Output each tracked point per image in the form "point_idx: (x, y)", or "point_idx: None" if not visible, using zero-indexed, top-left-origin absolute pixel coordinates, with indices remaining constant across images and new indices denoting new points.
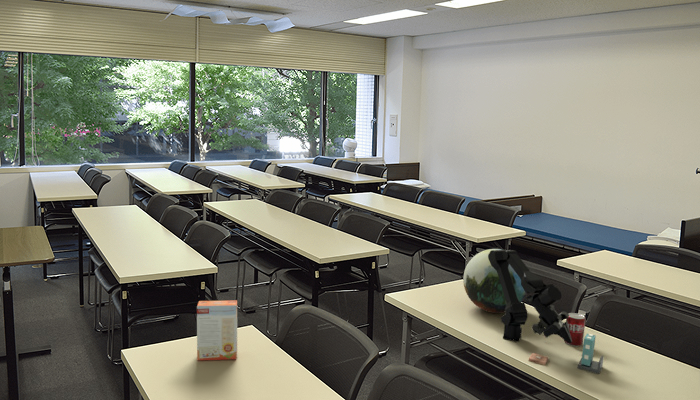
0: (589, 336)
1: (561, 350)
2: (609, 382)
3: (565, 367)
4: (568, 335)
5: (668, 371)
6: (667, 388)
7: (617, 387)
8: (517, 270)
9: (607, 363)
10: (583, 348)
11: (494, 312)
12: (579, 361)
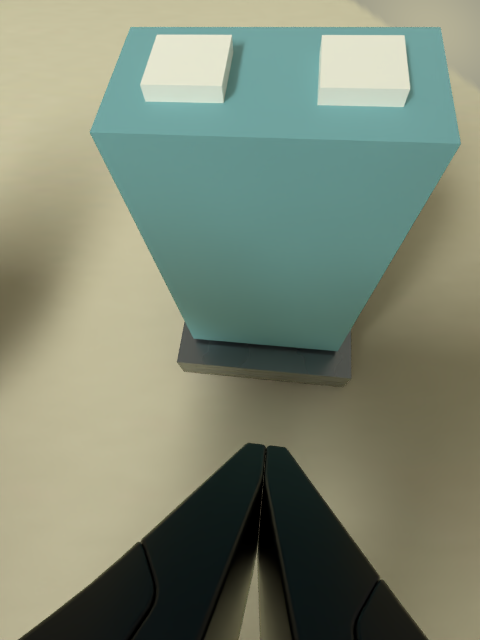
0: (249, 85)
1: (6, 569)
2: None
3: (399, 487)
4: (362, 553)
5: (99, 12)
6: (294, 8)
7: (462, 153)
8: None
9: (131, 216)
10: (382, 267)
11: None
12: (274, 371)
